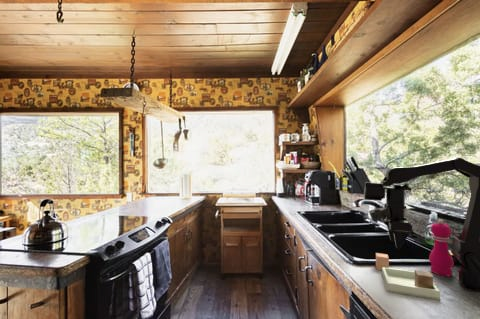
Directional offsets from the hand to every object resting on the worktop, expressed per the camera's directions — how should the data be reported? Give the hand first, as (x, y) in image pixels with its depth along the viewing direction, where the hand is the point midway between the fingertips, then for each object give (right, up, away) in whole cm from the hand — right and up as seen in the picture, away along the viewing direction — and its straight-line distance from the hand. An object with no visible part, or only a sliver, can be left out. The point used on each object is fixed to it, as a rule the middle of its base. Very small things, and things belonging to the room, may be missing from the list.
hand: (395, 244), depth 91 cm
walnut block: (+3, -11, -11) cm, 15 cm away
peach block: (-1, -12, +7) cm, 13 cm away
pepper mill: (+19, -12, +3) cm, 23 cm away
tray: (0, -11, -7) cm, 14 cm away
